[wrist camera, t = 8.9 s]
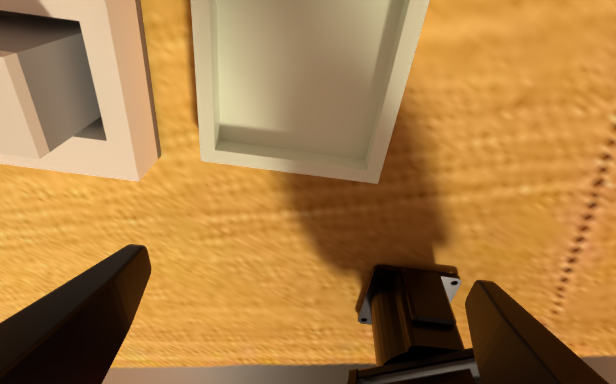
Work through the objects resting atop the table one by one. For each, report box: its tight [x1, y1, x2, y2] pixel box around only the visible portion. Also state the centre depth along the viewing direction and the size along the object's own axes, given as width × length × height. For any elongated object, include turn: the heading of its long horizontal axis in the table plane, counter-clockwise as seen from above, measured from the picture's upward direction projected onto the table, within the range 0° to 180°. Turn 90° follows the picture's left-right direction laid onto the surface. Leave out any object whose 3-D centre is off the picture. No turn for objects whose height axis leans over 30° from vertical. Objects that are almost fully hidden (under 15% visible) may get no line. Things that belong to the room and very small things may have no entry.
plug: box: [0, 15, 101, 159], centre depth 15 cm, size 4×4×6 cm
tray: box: [191, 0, 430, 184], centre depth 17 cm, size 10×10×2 cm
